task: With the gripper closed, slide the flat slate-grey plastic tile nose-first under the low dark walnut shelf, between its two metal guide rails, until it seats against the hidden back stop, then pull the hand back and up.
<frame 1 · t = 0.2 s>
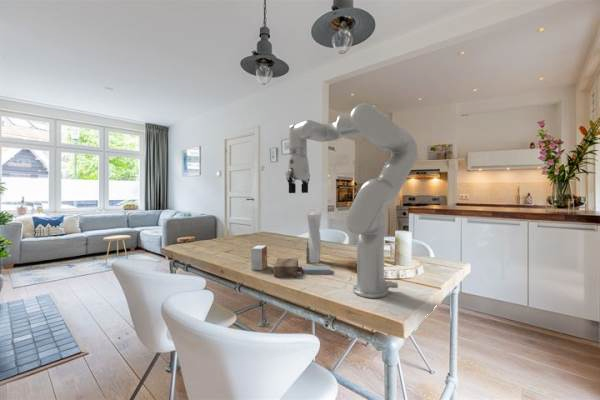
hand: (298, 192, 118), 37 cm above the table, tool pointing down, fingers open, 9 cm apart
small box: (259, 268, 133), on the table
skyscraper: (314, 262, 144), on the table
tile: (316, 272, 125), on the table
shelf: (286, 272, 125), on the table
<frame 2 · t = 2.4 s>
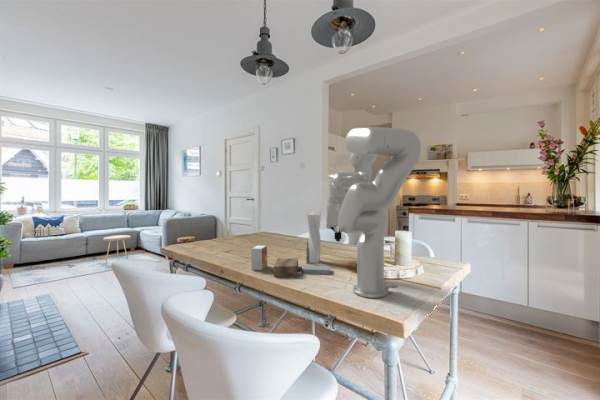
hand: (338, 240, 124), 14 cm above the table, tool pointing down, fingers closed
nothing on the table moved.
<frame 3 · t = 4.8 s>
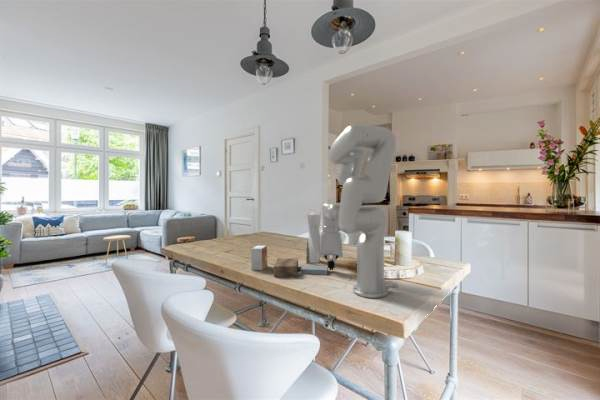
hand: (331, 269, 125), 1 cm above the table, tool pointing down, fingers closed
tile: (314, 272, 125), on the table, touching gripper
everything else where it was.
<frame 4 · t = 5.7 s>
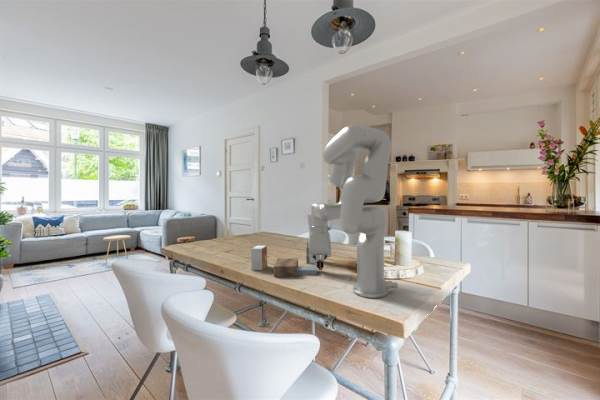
hand: (320, 269, 125), 1 cm above the table, tool pointing down, fingers closed
tile: (303, 273, 124), on the table, touching gripper
everything else where it was.
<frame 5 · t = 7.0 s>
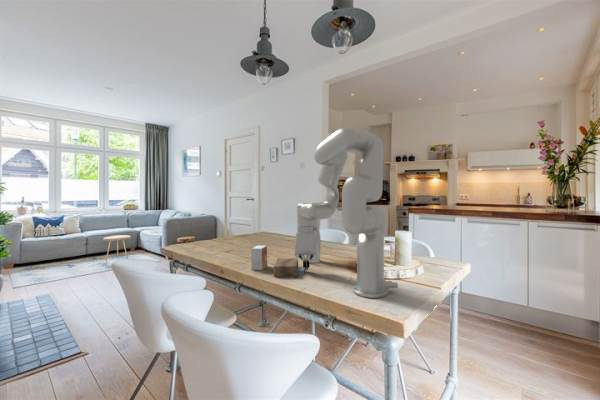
hand: (306, 269, 125), 1 cm above the table, tool pointing down, fingers closed
tile: (290, 273, 124), on the table, touching gripper, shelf
everything else where it was.
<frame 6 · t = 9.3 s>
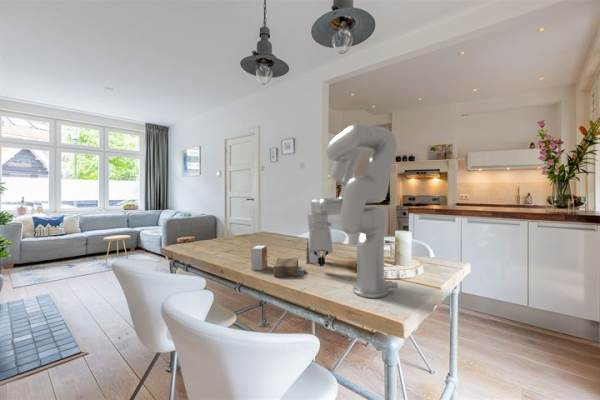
hand: (321, 265, 124), 3 cm above the table, tool pointing down, fingers closed
tile: (291, 273, 124), on the table
everything else where it was.
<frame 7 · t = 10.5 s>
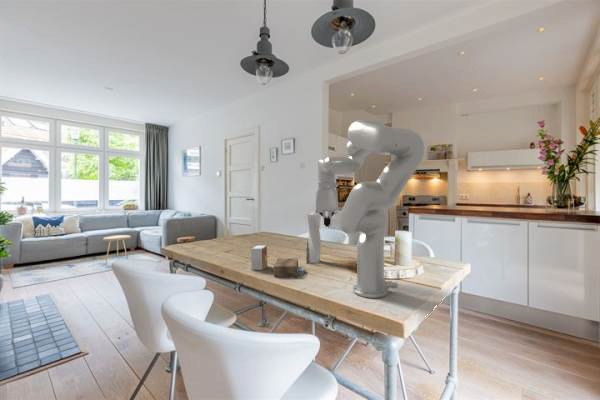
hand: (327, 226, 124), 21 cm above the table, tool pointing down, fingers closed
nothing on the table moved.
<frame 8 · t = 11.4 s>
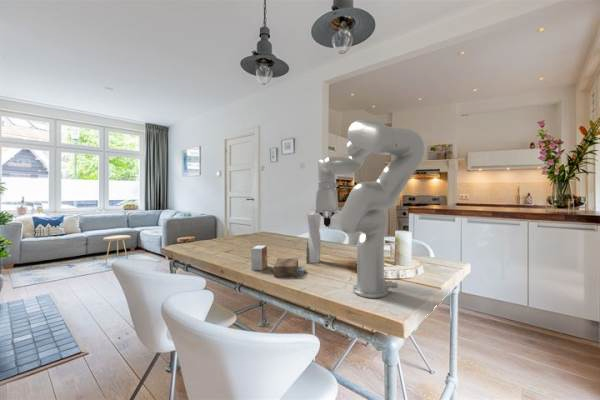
hand: (327, 226, 124), 21 cm above the table, tool pointing down, fingers closed
nothing on the table moved.
at the end: tile 1.1 cm from the target spot on the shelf, point -0.5 cm above the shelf's base; tile tilted 0° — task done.
